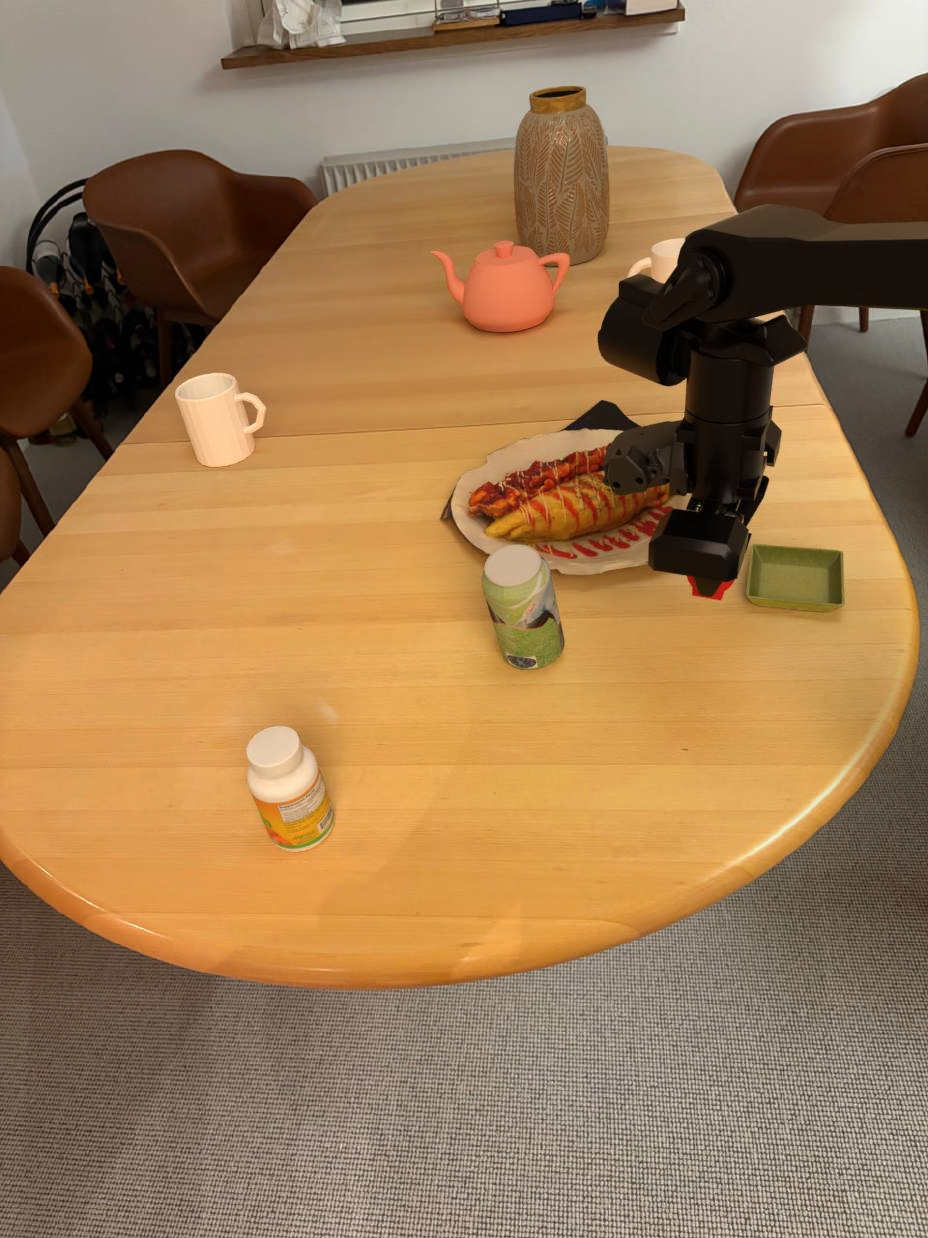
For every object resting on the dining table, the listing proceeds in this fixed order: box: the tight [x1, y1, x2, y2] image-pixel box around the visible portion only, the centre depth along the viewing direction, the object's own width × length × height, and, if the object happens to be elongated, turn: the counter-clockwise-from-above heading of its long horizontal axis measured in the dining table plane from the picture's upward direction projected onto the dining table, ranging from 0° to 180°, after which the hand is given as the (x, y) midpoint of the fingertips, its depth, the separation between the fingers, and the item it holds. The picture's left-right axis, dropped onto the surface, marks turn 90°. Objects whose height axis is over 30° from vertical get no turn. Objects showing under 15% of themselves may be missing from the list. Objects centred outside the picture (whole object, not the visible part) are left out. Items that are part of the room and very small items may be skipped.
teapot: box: [429, 240, 571, 333], centre depth 142 cm, size 22×15×12 cm
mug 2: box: [626, 237, 685, 284], centre depth 137 cm, size 12×8×10 cm
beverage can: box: [480, 545, 566, 671], centre depth 79 cm, size 6×7×12 cm
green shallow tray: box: [745, 543, 846, 613], centre depth 85 cm, size 9×9×2 cm
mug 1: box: [174, 372, 267, 468], centre depth 117 cm, size 8×12×10 cm
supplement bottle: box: [245, 725, 336, 853], centre depth 68 cm, size 5×5×10 cm
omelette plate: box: [439, 399, 692, 576], centre depth 101 cm, size 31×35×7 cm
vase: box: [513, 85, 611, 267], centre depth 158 cm, size 17×17×27 cm
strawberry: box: [686, 576, 736, 602], centre depth 71 cm, size 4×4×4 cm
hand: (711, 579), depth 72 cm, fingers closed on strawberry, 4 cm apart
